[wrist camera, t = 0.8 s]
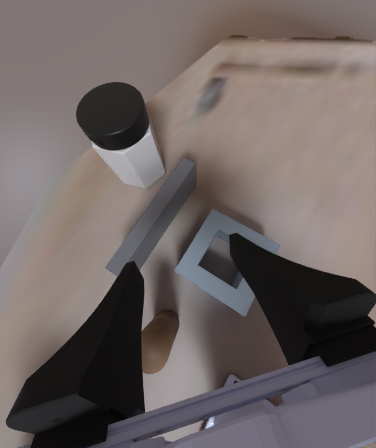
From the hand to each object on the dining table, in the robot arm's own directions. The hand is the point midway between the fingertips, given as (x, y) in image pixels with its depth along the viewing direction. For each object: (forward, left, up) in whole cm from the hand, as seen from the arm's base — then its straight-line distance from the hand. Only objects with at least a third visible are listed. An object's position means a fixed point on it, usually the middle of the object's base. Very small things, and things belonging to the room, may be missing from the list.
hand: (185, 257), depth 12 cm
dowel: (-1, +9, -13) cm, 16 cm away
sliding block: (-4, -3, -13) cm, 14 cm away
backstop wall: (+7, -3, -13) cm, 16 cm away
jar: (+17, -10, -14) cm, 24 cm away
